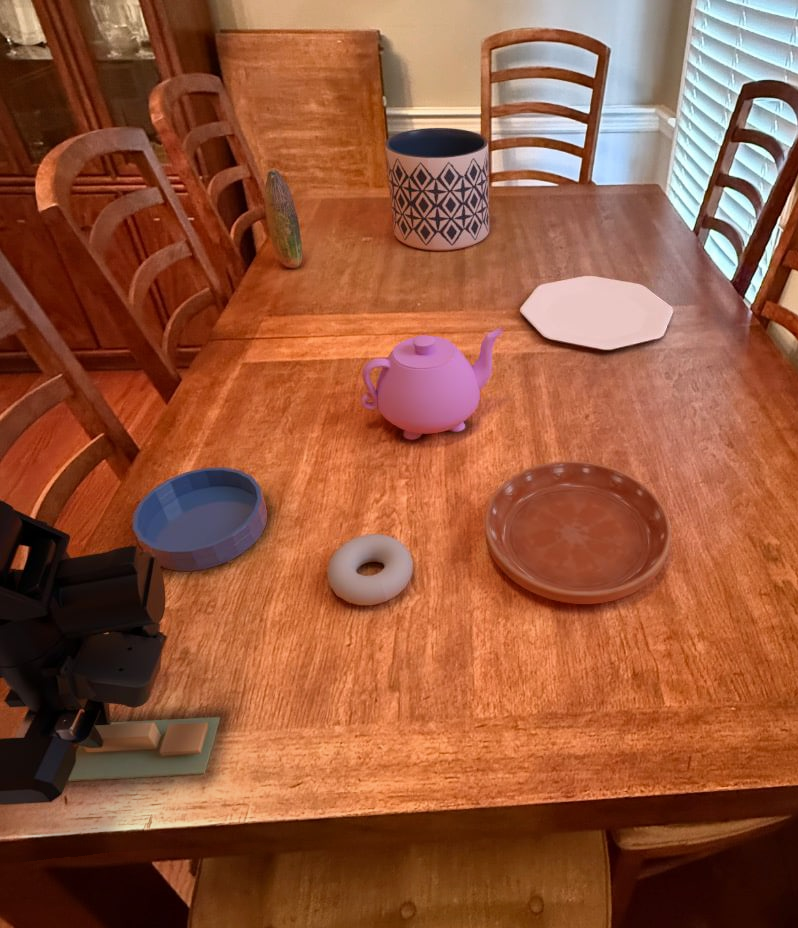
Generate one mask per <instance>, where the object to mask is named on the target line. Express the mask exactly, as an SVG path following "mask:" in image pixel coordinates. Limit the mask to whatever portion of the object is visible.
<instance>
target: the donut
mask: <svg viewBox="0 0 798 928" xmlns="http://www.w3.org/2000/svg"><path fill="white" fill-rule="evenodd" d="M372 562H377V563H381V564H382V565H383V566H384V567H383V569H382V570H380V571H379V572H377V573H375V574H372V575H363V574H359V573H358V572H357V570H358V569H359V568H360V567H361V566H362V565H365V564H367V563H372ZM413 565H414V561H413V558H412V556H411V552H410V550H409V549H408V548H407V547H406V546H405V545H404V543H402V542H401V540H399V539H396V538H394V537H393V536H390V535H385V534H382V533H376V534H373V533H371V534H368V533H367V534H364V535H360V536H356V537H354V538H352V539H350V540H348V541H346V542H344V543H343V544H342V545H341V546H339V547H338V548H337V549H336V550H335V551H334V553H333V555H332V556H331V558H330V559H329V561H328V565H327V570H326V576H327V581H328V585H329V588H331V589H332V591H333V592H334V594H335V595H336V596H337V597H339V598H340V599H342V600H344V601H346V602H347V603H350V604H353V605H357V606H374V605H378V604H382V603H385V602H388V601H389V600H391V599H393V598H394V597H397V596H398V595H399V594H400V593H401V592H402V591H403V590H404V589H405V588H406V587H407V585H408V583H409V582H410V580H411V578H412V576H413V567H414V566H413Z"/></svg>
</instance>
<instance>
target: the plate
mask: <svg viewBox="0 0 798 928" xmlns="http://www.w3.org/2000/svg"><path fill="white" fill-rule="evenodd" d="M519 314H520V315H522V316H523V317H524V318H525V320H527V322H528V323H529V324H530V325H531V326H532V327H533V328H534V329H535V331H537V332H538V333H539V334H540V335H541V336H542V338H544V339H547V340H548V341H552V342H557V343H562V344H567V345H572V346H577V347H582V348H588V349H593V350H598V351H603V352H604V351H605V352H609V351H615V350H620V349H623V348H627V347H628V348H629V347H632V346H635V345H641V344H645V343H649V342H653V341H657V340H660V339H661V338H663V337H664V336H665V333H666V330H667V329H668V326H669V323H670V321H671V319H672V317H673V314H674V308H673V307H672V306H671V305H669V303H667V302H665V300H663V299H662V298H660V297H659V296H658V295H657V294H655V293H654V292H653V291H651V290H650V289H649V288H648V287H646V286H645V285H643V284H640V283H637V282H630V281H624V280H618V279H612V278H606V277H601V276H594V275H582V276H576V277H572V278H568V279H567V278H566V279H562V280H557V281H550V282H547V283H541V284H539V285H537V286H536V288H534V290H533V291H532V293H531V294H530V295H529V296H528V298H527V299H526V300H525V301H524V303H523V304H522V305H521V306H520V307H519Z"/></svg>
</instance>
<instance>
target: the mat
mask: <svg viewBox="0 0 798 928" xmlns="http://www.w3.org/2000/svg"><path fill="white" fill-rule="evenodd" d="M220 721H221V717H220V716H210V717H193V718H192V717H191V718H173V719H172V718H171V719H170V718H169V719H153V720H152V719H151V720H150V719H149V720H134V721H133V720H131V721H111V724H131V723H151V722H153V723H154V724H155V725H156V727H157V729H158V730H159V732H160V733H161V738H160V741H159V744H158V747H157V749H142V750H123V751H104V752H87V751H86V750H85V749H84V747H83V746H79V745H77V746H78V747H77V748H76V763H75V765H74V767H73V770H72V772H71V774H70V777H69V779H68V781H67V782H81V781H83V782H84V781H99V780H119V779H137V778H154V777H173V776H174V777H175V776H192V775H205V774H206V771H207V767H208V763H209V760H210V757H211V753H212V750H213V745H214V742H215V739H216V735H217V731H218V728H219V724H220ZM205 722H207V724H208V726H209V727H208V730H207V733H206V737H205V740H204V744H203V747H202V751H201V754H184V755H165V756H161V754H160V753H159V751H160V748H161V745H162V743H163V740H164V737H165V734H166V731H167V728H168V725H169V724H185V723H205Z"/></svg>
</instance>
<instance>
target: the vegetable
mask: <svg viewBox="0 0 798 928" xmlns="http://www.w3.org/2000/svg"><path fill="white" fill-rule="evenodd" d="M263 193H264V194H263V195H264V211H265V218H266V224H267V229H268V233H269V237H270V240H271V243H272V246H273V248H274V251H275V254H276V256H277V258H278V260H279V261H280V263H281V264H282V265H283V266H285V267H287V268H289V269H296V268H298V267H299V266H300V265H301V264H302V261H303V255H304V254H303V243H302V237H301V230H300V222H299V217H298V214H297V210H296V206H295V204H294V203H295V202H294V199H293V194H292V192H291V190H290V187H289V185H288V184H287V182H286V181H285V179H284V178H283V177H282V175H281V173H280V172H279V171H277V170H275V169H272V170H269V172H268V173H267V177H266V182H265V185H264V192H263Z"/></svg>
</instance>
